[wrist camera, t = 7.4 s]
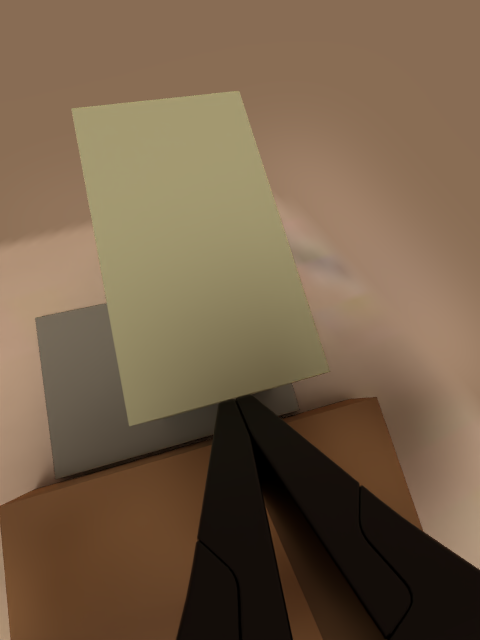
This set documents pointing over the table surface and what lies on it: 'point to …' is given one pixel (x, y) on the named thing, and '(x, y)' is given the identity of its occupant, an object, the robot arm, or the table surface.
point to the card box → (192, 255)
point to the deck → (159, 534)
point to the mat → (108, 397)
